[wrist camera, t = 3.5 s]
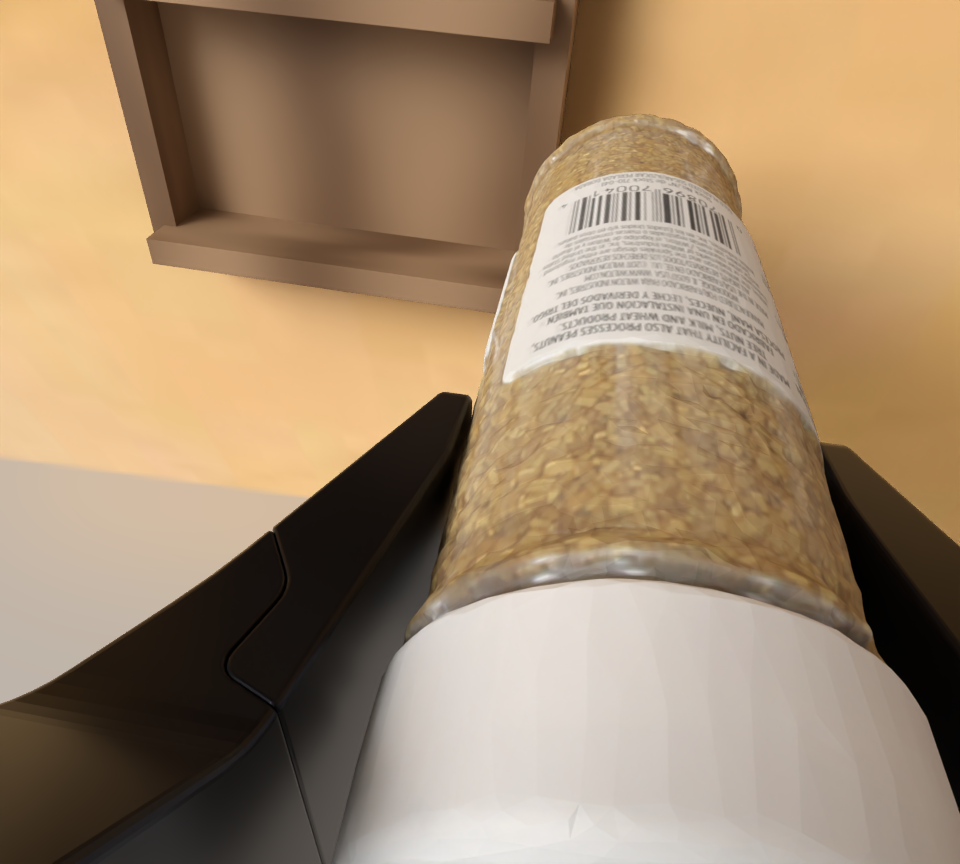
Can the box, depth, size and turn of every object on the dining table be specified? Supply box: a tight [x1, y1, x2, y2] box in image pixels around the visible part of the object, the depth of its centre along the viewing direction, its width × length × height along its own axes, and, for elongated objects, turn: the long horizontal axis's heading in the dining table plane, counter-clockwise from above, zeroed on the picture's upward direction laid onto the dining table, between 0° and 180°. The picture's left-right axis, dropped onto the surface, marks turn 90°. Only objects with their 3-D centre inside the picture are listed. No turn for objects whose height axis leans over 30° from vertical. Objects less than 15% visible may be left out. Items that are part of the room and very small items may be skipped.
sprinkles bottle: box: [332, 114, 960, 864], centre depth 10 cm, size 5×5×14 cm
